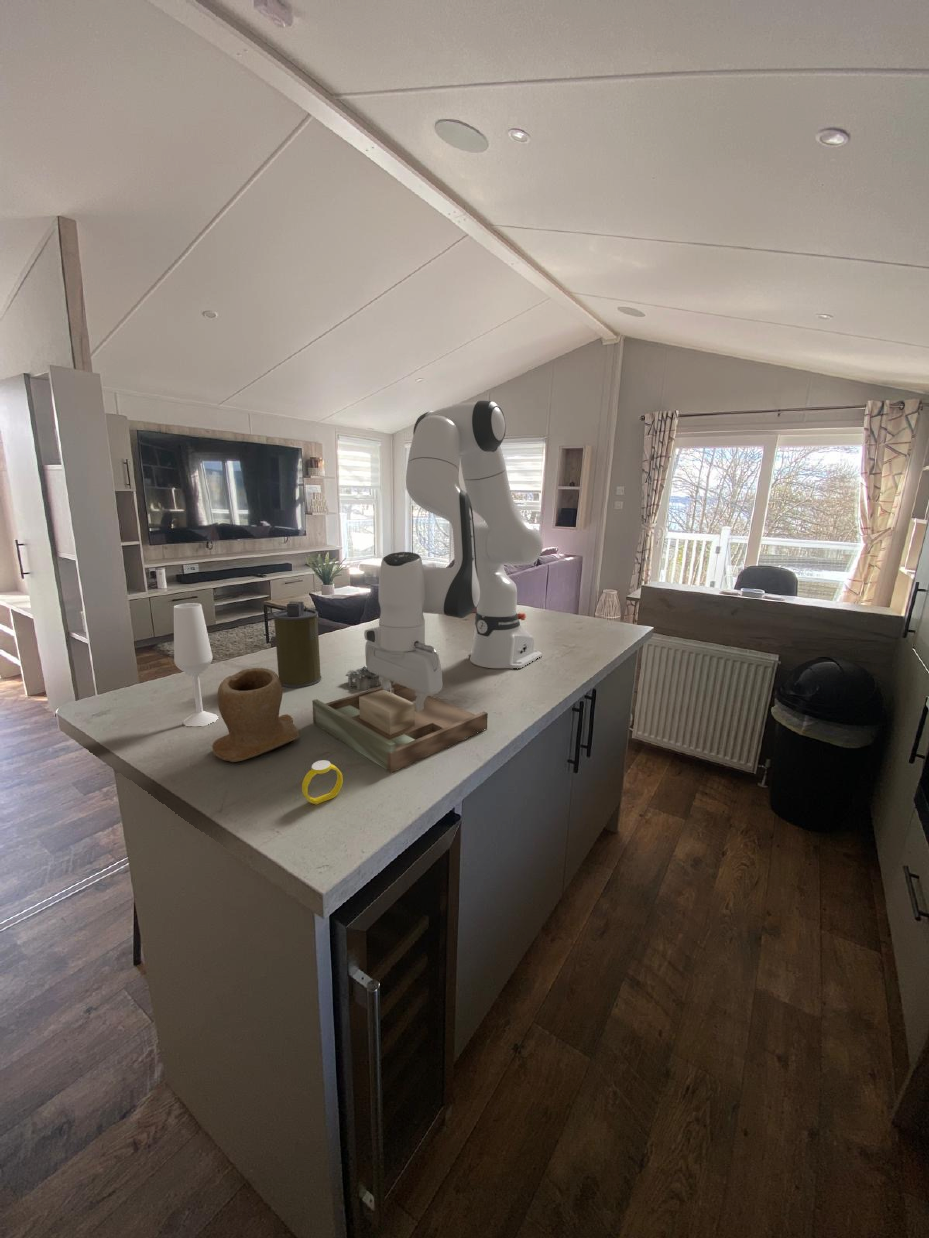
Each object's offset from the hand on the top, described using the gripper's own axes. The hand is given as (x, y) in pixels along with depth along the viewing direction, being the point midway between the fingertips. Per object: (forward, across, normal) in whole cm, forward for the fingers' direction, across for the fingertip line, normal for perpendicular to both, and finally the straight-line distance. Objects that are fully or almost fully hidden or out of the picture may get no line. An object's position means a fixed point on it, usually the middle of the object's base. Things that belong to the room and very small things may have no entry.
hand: (402, 703), depth 100 cm
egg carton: (+5, +25, -9) cm, 27 cm away
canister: (+5, +38, +3) cm, 39 cm away
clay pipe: (+5, +10, +25) cm, 27 cm away
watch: (+5, -12, +25) cm, 28 cm away
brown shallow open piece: (+5, 0, +1) cm, 5 cm away
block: (+3, 0, +4) cm, 5 cm away
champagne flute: (+5, +30, +29) cm, 42 cm away
